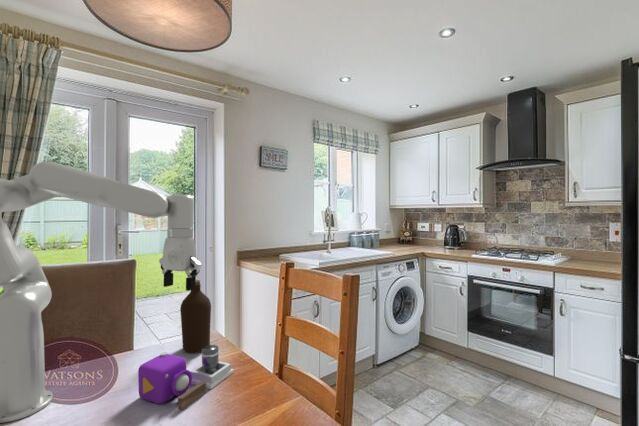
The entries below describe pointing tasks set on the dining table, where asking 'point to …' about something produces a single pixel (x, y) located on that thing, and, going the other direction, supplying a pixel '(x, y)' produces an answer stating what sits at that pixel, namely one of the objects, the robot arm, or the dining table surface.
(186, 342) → the olive oil
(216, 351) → the lens
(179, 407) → the rail
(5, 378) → the robot arm
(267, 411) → the dining table surface
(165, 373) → the toy camera
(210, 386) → the tray
